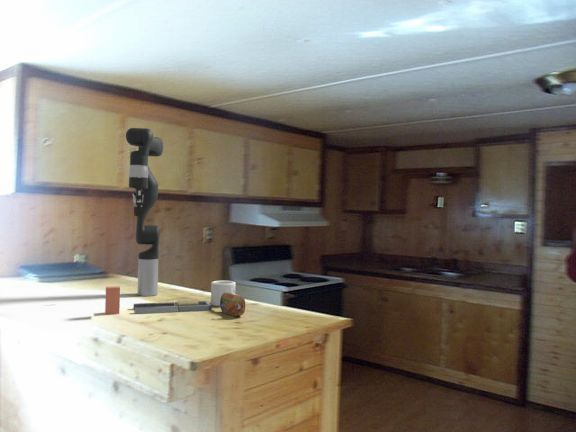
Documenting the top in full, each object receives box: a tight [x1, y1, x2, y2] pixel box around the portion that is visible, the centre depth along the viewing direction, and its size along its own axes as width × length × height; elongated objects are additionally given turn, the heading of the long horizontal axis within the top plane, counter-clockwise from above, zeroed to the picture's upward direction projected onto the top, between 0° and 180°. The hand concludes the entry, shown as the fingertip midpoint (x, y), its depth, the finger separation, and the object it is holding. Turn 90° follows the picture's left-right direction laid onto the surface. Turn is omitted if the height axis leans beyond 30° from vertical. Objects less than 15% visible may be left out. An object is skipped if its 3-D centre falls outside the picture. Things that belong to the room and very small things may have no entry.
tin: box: [219, 293, 246, 317], centre depth 195 cm, size 15×3×8 cm, turn 40°
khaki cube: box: [186, 298, 199, 306], centre depth 199 cm, size 4×4×4 cm
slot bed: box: [132, 301, 179, 315], centre depth 194 cm, size 10×16×3 cm, turn 112°
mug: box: [210, 280, 237, 307], centre depth 216 cm, size 14×11×10 cm
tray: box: [174, 300, 213, 313], centre depth 199 cm, size 10×13×3 cm
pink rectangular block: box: [104, 285, 121, 316], centre depth 186 cm, size 4×5×11 cm
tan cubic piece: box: [176, 298, 189, 307], centre depth 198 cm, size 4×4×4 cm
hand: (137, 216), depth 200 cm, fingers open, 8 cm apart
